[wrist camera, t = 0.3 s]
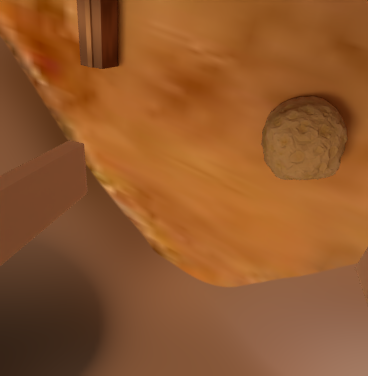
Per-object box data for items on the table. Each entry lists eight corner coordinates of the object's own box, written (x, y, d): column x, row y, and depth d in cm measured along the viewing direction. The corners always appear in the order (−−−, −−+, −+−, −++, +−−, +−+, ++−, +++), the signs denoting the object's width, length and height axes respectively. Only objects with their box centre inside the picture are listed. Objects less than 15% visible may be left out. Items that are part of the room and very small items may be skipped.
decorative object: (266, 99, 38) (228, 145, 33) (339, 65, 29) (299, 121, 25) (301, 150, 40) (269, 199, 36) (376, 133, 32) (346, 194, 28)
